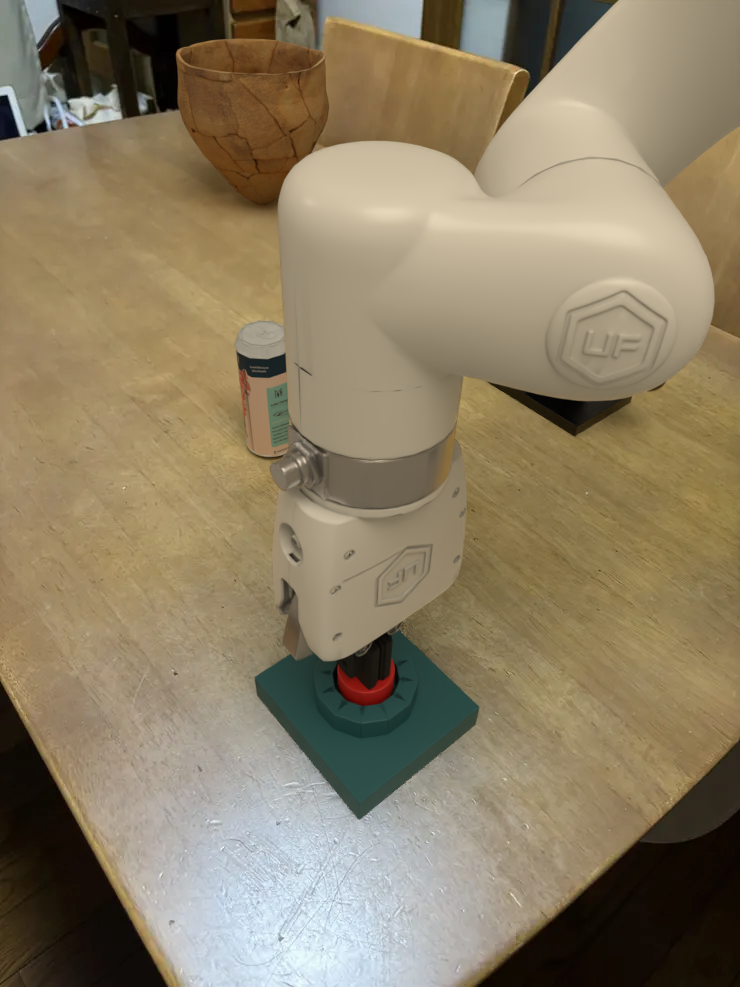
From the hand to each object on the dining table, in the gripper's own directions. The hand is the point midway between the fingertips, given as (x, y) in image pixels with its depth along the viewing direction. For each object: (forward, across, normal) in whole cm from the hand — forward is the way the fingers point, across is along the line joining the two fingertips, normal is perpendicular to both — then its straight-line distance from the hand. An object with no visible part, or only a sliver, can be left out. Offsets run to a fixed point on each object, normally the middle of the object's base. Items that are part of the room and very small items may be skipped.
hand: (363, 667), depth 47 cm
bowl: (+5, +42, +75) cm, 86 cm away
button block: (+5, 0, 0) cm, 5 cm away
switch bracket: (+5, +39, +16) cm, 43 cm away
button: (+2, 0, 0) cm, 2 cm away
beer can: (+5, +11, +27) cm, 30 cm away
